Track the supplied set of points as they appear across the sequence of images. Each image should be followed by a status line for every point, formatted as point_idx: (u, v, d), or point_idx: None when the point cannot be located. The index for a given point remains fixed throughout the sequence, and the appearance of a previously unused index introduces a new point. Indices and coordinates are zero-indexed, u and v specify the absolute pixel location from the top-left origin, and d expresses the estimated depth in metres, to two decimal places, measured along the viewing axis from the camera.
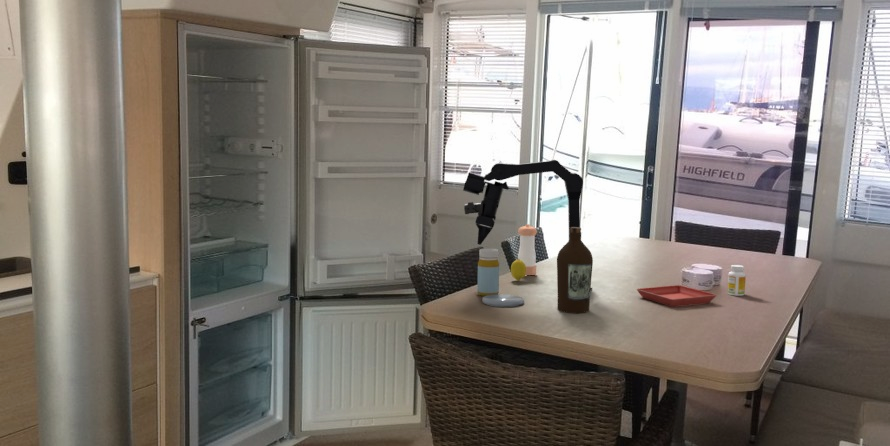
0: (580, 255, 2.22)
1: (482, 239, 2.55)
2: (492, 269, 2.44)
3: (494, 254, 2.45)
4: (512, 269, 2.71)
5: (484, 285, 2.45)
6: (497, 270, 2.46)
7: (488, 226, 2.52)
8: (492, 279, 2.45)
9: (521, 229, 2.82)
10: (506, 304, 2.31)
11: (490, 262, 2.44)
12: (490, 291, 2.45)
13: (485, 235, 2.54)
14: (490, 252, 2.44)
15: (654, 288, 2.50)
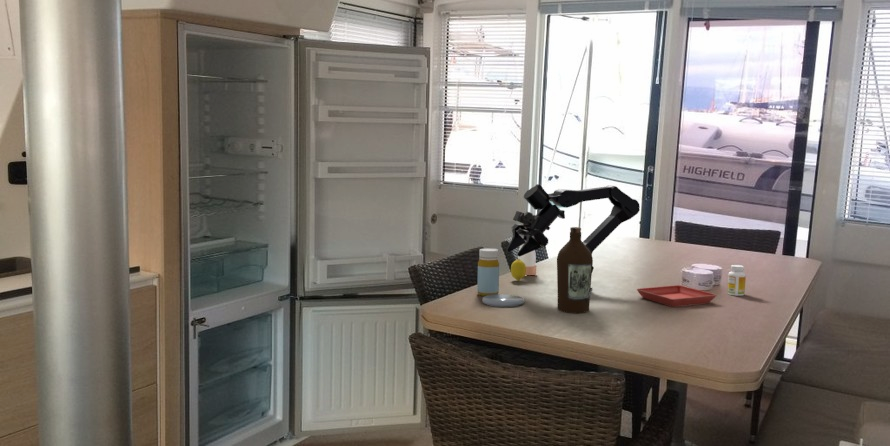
0: (580, 255, 2.22)
1: (524, 252, 2.45)
2: (492, 269, 2.44)
3: (494, 254, 2.45)
4: (512, 269, 2.71)
5: (484, 285, 2.45)
6: (497, 270, 2.46)
7: (539, 244, 2.44)
8: (492, 279, 2.45)
9: None
10: (506, 304, 2.31)
11: (490, 262, 2.44)
12: (490, 291, 2.45)
13: (529, 250, 2.45)
14: (490, 252, 2.44)
15: (654, 288, 2.50)
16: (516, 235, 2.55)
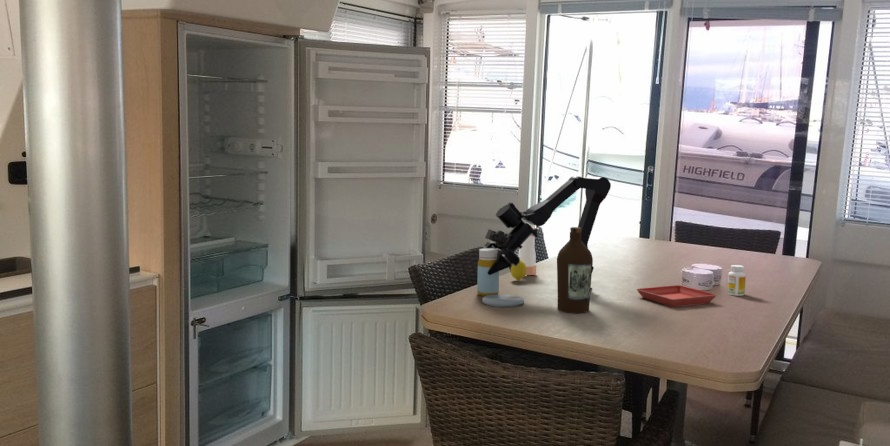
0: (580, 255, 2.22)
1: (494, 271, 2.44)
2: None
3: (494, 254, 2.45)
4: (512, 269, 2.71)
5: (484, 285, 2.45)
6: None
7: (509, 262, 2.42)
8: (492, 279, 2.45)
9: None
10: (506, 304, 2.31)
11: (490, 262, 2.44)
12: (490, 291, 2.45)
13: (500, 269, 2.44)
14: (490, 252, 2.44)
15: (654, 288, 2.50)
16: None
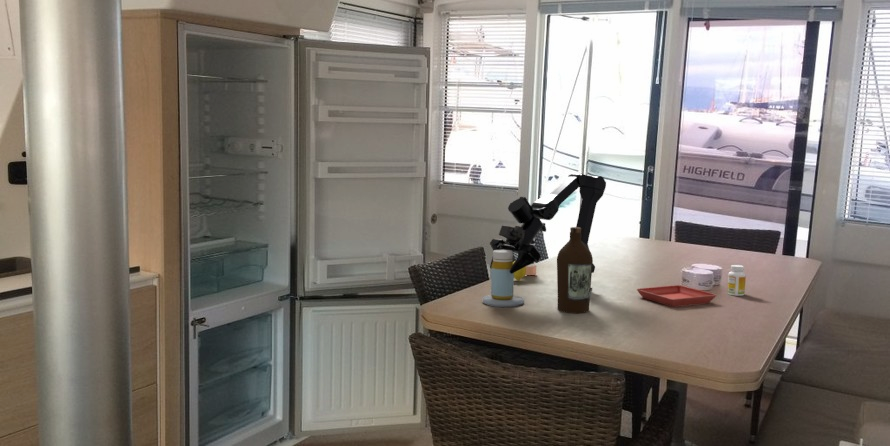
0: (580, 255, 2.22)
1: (516, 269, 2.32)
2: None
3: (511, 255, 2.35)
4: None
5: (502, 289, 2.34)
6: None
7: (532, 259, 2.32)
8: (510, 281, 2.35)
9: None
10: (506, 304, 2.31)
11: (508, 264, 2.34)
12: (508, 294, 2.35)
13: (521, 266, 2.33)
14: (508, 253, 2.34)
15: (654, 288, 2.50)
16: None
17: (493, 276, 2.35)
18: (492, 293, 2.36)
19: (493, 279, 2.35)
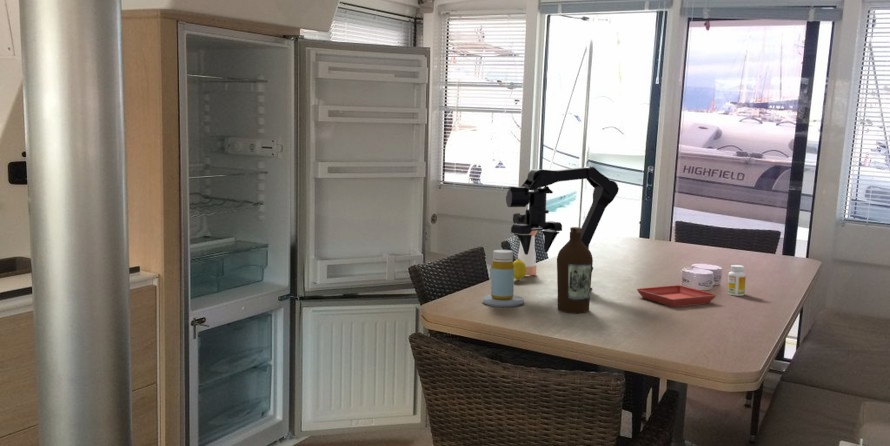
0: (580, 255, 2.22)
1: (526, 248, 2.49)
2: (510, 271, 2.34)
3: (511, 255, 2.35)
4: None
5: (502, 289, 2.34)
6: (513, 272, 2.36)
7: (522, 234, 2.47)
8: (510, 281, 2.35)
9: None
10: (506, 304, 2.31)
11: (508, 264, 2.34)
12: (508, 294, 2.35)
13: (526, 244, 2.48)
14: (508, 253, 2.34)
15: (654, 288, 2.50)
16: (544, 233, 2.57)
17: (493, 276, 2.35)
18: (492, 293, 2.36)
19: (493, 279, 2.35)
